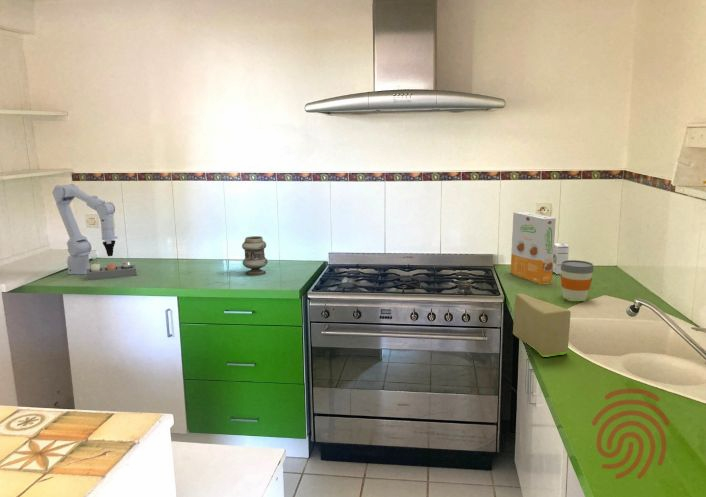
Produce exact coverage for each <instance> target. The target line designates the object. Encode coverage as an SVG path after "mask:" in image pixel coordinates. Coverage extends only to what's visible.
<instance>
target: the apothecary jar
mask: <svg viewBox="0 0 706 497" xmlns="http://www.w3.org/2000/svg"><path fill="white" fill-rule="evenodd" d="M266 248H267V242H266V241H264V238H263V236H260V235H259V236H258V235H257V236H254V235H253V236H251V235H250V236H246V237H245V238H244V242H242V244H241V249H243V250H244V259H243V260H242V265H243V266H244V267H245V268H247V269H249V270H247V271H246V272H245V274H246V276H252V277H256V276H257V277H258V276H262V275H265V274H266V270H264V269H262V268H264V267H265V266H267V264H268V258H266V256H265V255H266V254H265V249H266Z"/></svg>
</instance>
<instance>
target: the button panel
mask: <svg viewBox="0 0 706 497" xmlns="http://www.w3.org/2000/svg"><path fill="white" fill-rule="evenodd" d="M85 275H86V281H91V280H92V281H93V280H103V279H114V278H124V277H135V276H137V267H136V264H131V268H127V269H123V268H122V265H117V266H116V270H107V266H106V267H100V271H95V272H91V268H90V269H87V272H86V274H85Z"/></svg>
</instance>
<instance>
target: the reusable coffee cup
mask: <svg viewBox="0 0 706 497" xmlns="http://www.w3.org/2000/svg"><path fill="white" fill-rule="evenodd" d="M561 271H562V275H560V284H561V287H562V298H563V297H564V298H567V299H574V300H583V299H586V298H588V295H589V290H590V289H591V285H592V280H593V277H592V276H593V273H594V264H593V263H592V262H589V261H585V260H576V259H575V260H573V259H572V260H571V259H568V260H567V261H563V262H562V264H561ZM586 300H587V299H586Z"/></svg>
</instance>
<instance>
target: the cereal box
mask: <svg viewBox="0 0 706 497" xmlns="http://www.w3.org/2000/svg"><path fill="white" fill-rule="evenodd" d="M512 215H513V216H512V217H513V218H512V232H511V233H512V234H511V235H512V236H511V238H512V239H511V255H510V256H511V258H510V273H513V274H515V275H518V276H520V277H519V278H521V277H523V278H525V279H524V280H526V279H528V280H527V281H529V280H531V281H533V282H532V283H534V282H536V283H539V284H543V283H551V282H552V280H553V272H552V269H553V253H554V244H555V236H556V234H555V233H556V217H552V216H547V215H542V214H538V213H532V212H528V211H515V212H513V213H512ZM513 274H512V275H513ZM515 275H514V276H515ZM518 276H517V277H518ZM523 278H522V279H523ZM531 281H530V282H531ZM536 283H535V284H536ZM539 284H538V285H539Z"/></svg>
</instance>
